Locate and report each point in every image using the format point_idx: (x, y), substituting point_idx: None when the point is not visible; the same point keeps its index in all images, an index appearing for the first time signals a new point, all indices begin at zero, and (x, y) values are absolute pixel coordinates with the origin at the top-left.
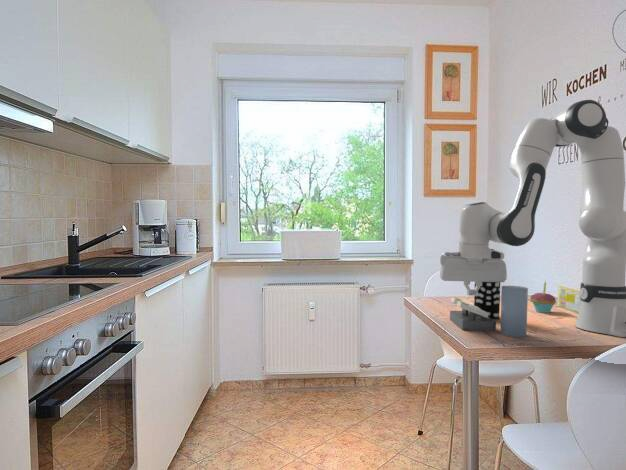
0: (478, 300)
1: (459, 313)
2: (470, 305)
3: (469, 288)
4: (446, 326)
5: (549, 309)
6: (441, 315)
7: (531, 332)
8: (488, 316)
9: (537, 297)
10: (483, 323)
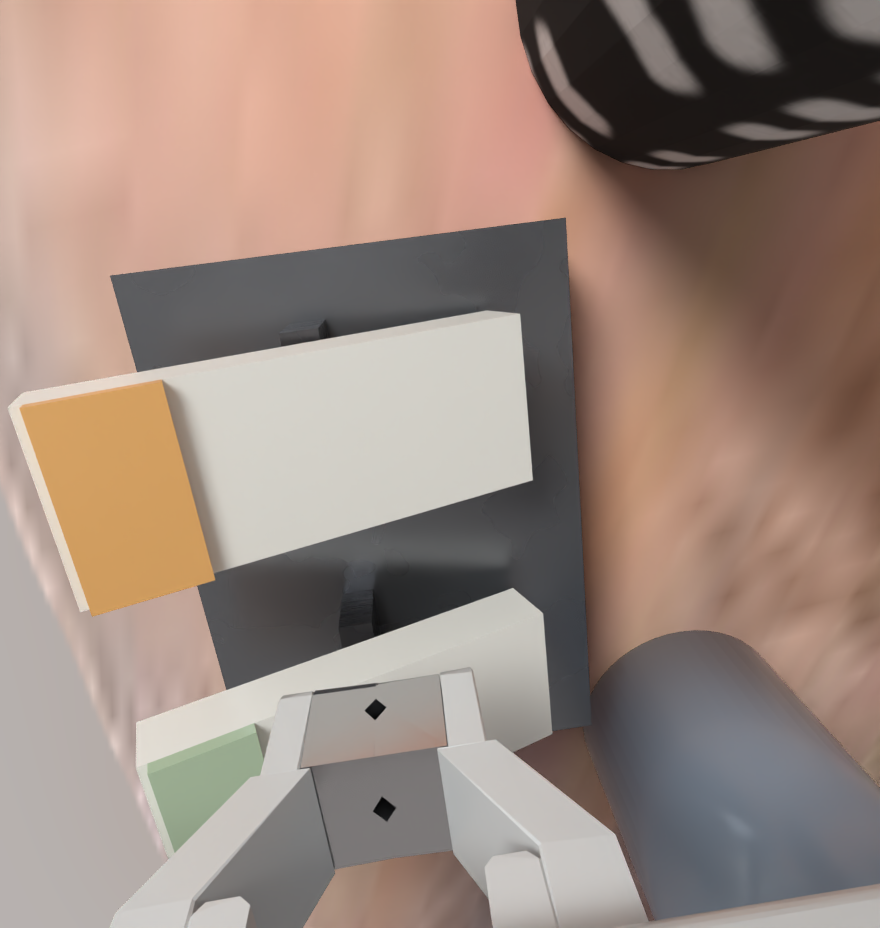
0: (633, 12)
1: None
2: (377, 522)
3: (299, 916)
4: (121, 616)
5: None
6: (32, 14)
7: (864, 625)
8: (673, 165)
9: None
10: None
